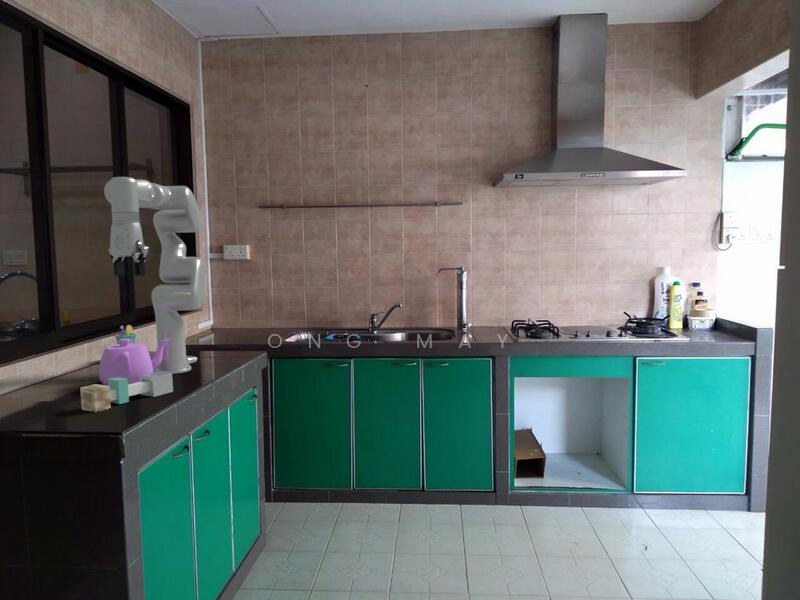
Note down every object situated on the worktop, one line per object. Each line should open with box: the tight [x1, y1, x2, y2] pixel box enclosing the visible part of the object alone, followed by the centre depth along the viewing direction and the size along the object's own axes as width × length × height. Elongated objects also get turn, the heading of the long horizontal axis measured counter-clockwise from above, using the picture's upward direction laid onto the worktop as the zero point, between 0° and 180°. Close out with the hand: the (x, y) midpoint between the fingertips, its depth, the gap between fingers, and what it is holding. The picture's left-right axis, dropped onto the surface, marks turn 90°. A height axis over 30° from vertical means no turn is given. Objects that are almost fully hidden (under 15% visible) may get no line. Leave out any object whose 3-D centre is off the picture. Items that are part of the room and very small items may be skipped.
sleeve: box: [140, 371, 174, 398], centre depth 186 cm, size 7×6×6 cm
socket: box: [79, 383, 112, 413], centre depth 169 cm, size 4×6×6 cm
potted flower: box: [114, 324, 137, 344], centre depth 243 cm, size 14×8×15 cm, turn 12°
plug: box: [108, 377, 151, 405], centre depth 176 cm, size 18×5×7 cm, turn 150°
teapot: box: [98, 339, 170, 386], centre depth 200 cm, size 23×21×15 cm
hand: (129, 275), depth 184 cm, fingers open, 9 cm apart
